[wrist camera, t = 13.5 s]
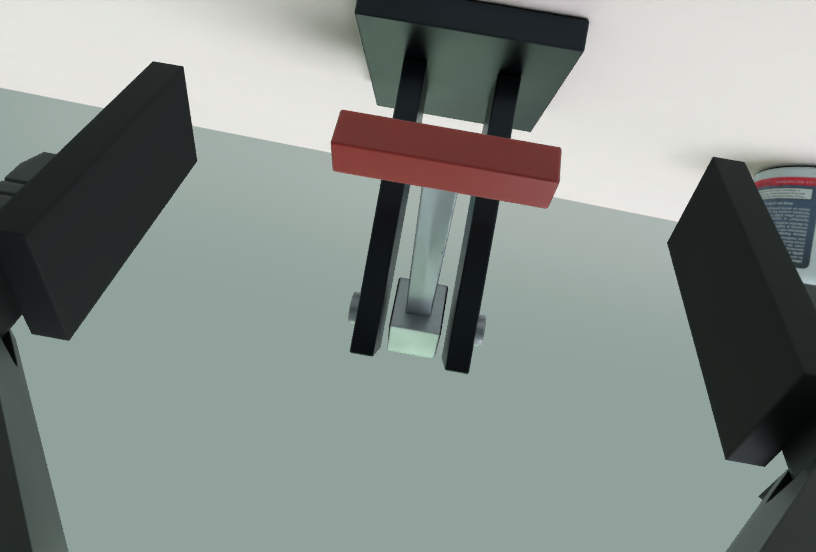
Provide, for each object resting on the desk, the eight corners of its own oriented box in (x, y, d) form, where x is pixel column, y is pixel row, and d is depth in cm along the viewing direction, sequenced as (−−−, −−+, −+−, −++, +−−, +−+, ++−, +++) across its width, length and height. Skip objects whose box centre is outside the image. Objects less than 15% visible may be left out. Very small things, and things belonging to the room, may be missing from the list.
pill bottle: (736, 177, 39) (713, 315, 39) (789, 159, 34) (762, 319, 33) (818, 192, 39) (795, 330, 39) (883, 177, 34) (857, 336, 33)
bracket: (360, -19, 23) (290, 352, 22) (589, 19, 22) (523, 395, 22) (380, 84, 34) (334, 333, 33) (534, 110, 33) (490, 362, 33)
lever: (344, 94, 18) (325, 156, 17) (563, 132, 18) (559, 197, 17) (352, 296, 29) (341, 341, 28) (486, 321, 29) (480, 367, 28)
